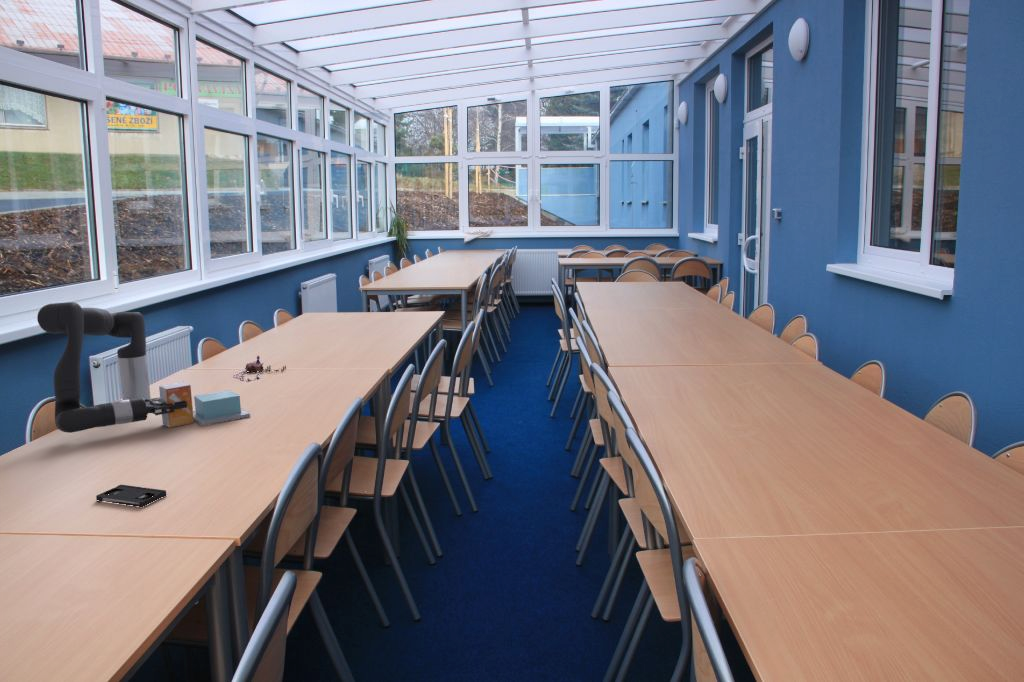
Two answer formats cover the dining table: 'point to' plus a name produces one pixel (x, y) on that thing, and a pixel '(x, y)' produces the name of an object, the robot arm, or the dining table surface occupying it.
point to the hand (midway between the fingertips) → (183, 401)
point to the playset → (256, 367)
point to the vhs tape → (131, 495)
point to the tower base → (218, 408)
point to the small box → (177, 394)
